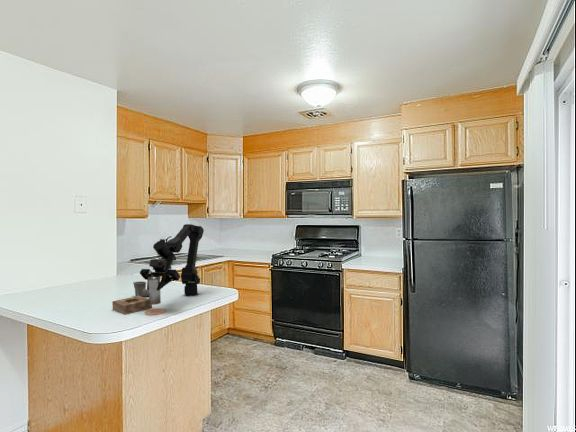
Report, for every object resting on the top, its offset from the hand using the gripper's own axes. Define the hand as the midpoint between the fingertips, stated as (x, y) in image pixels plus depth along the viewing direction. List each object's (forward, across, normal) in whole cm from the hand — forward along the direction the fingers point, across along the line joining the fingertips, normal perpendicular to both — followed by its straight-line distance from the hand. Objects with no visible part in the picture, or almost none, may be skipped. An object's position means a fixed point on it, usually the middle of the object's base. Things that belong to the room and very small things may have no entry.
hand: (152, 289), depth 159 cm
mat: (+7, 0, +8) cm, 11 cm away
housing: (+4, -15, +11) cm, 19 cm away
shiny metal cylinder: (+4, 0, +6) cm, 7 cm away
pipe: (-11, -24, +27) cm, 38 cm away
